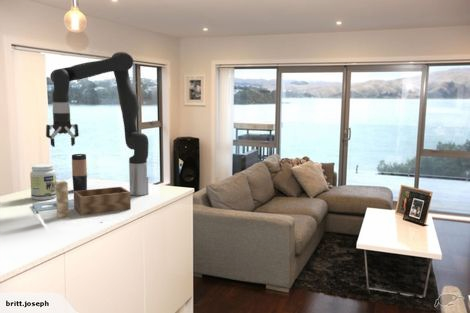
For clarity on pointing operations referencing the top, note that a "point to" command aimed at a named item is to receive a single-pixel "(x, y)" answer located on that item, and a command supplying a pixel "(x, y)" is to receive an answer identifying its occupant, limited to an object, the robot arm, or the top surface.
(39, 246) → the top surface
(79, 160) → the travel mug
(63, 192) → the beech key
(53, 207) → the lid
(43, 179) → the supplement tub
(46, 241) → the top surface
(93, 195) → the wooden box
